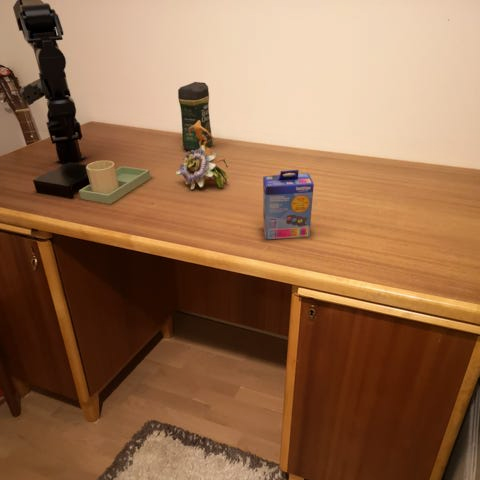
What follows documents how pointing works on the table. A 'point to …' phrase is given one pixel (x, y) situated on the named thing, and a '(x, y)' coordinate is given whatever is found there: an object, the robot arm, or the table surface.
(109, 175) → the cup
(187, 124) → the coffee jar
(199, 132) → the figurine
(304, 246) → the table surface
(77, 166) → the flat black slab base
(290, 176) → the ink cartridge box
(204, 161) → the passion flower
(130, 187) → the tray
